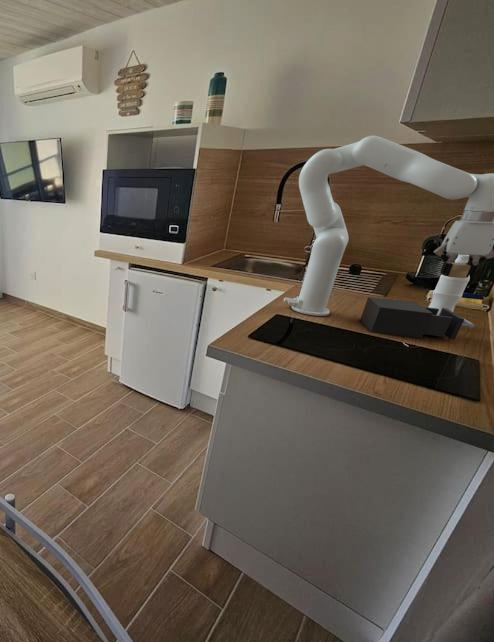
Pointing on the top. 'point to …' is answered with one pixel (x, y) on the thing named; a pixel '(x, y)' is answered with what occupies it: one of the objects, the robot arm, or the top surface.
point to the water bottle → (449, 289)
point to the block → (459, 270)
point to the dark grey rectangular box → (395, 317)
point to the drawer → (445, 323)
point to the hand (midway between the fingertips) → (454, 275)
